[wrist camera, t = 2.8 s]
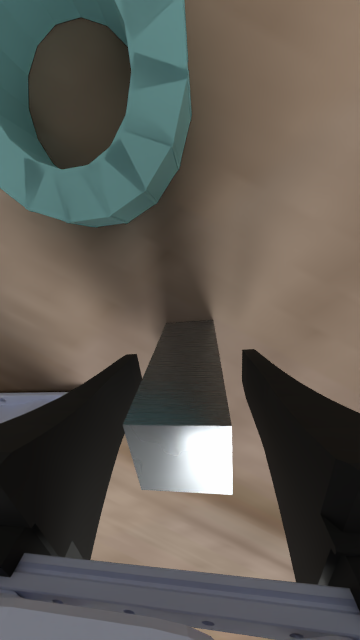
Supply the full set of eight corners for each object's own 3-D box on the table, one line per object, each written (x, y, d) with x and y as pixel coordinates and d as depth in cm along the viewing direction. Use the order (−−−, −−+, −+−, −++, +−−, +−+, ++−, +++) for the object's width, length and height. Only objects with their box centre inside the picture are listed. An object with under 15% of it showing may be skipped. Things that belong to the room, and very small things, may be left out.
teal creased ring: (35, 235, 12) (-6, 234, 9) (-55, -19, 8) (-156, -124, 6) (198, 214, 10) (197, 205, 8) (177, -102, 7) (166, -279, 5)
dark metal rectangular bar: (172, 362, 14) (141, 489, 7) (166, 323, 13) (122, 424, 6) (215, 360, 14) (232, 494, 6) (213, 320, 13) (231, 426, 5)
